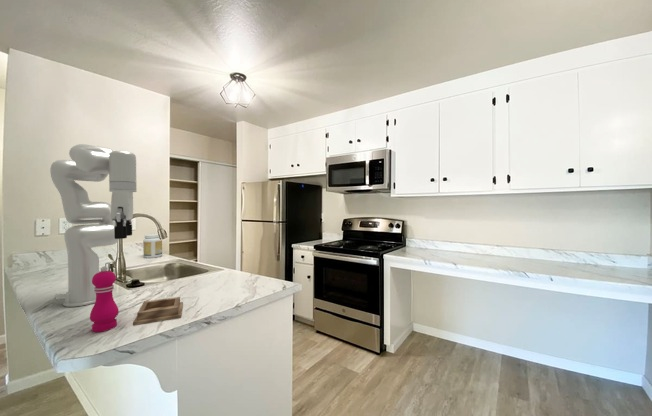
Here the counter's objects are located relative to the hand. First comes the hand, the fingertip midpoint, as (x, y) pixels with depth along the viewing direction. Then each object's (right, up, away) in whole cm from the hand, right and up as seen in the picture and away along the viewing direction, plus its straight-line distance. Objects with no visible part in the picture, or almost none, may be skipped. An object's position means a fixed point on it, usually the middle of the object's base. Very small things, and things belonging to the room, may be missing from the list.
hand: (123, 237), depth 93 cm
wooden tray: (+9, -29, +5) cm, 31 cm away
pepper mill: (-2, -29, -6) cm, 30 cm away
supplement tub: (-62, -28, +112) cm, 131 cm away
